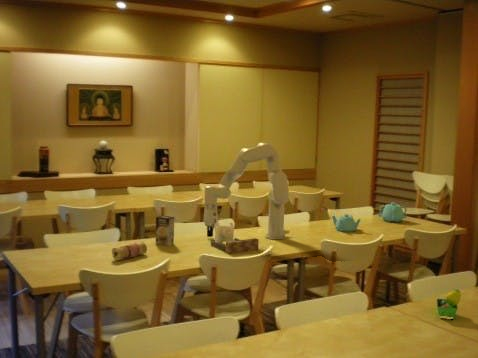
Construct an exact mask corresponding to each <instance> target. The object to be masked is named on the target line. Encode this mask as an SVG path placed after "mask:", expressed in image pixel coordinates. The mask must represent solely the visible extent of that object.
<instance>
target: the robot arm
mask: <svg viewBox="0 0 478 358" xmlns="http://www.w3.org/2000/svg"><path fill="white" fill-rule="evenodd" d="M262 160H265V162H266V167H267V179H268V182H269V183H270V184H271V185H272V187H271V188H270V189H269V191H268V221H267V222H268V223H267V224H268V225H267V233H266V234H265V238H266V239H268V240H284V239H286V237H287V236H286V235H288V234H290V233H291V232H290V230H285V229H284V227H285V225H284V224H285V204H286V203H288V201H289V198H290V191H289V190H290V189H289V181H288V176H287V175H286V173H285V172H284V171H283V170H282V164H281V158H280V155H279V152H278V151H277V149H275V147H274V146H273V145H272V144H270V143H267V142H259V143H258V144H257V145H256V147H255V146H254V147H251V148H248V147H243V148H241V149H240V151H239V152H238V154H237V156H236V157H235V159H234V161H233V162H232V164H231V165H230V167H229V168H228V170H227V171H225V174H224V175H223V176H222V178H221V179H220V181H219V182H218V184H217V186H216V185H207V186H205V187H204V210H203V224H204V225H205V226H206V230H207V231H206V232H207V233H206V237H207V238H211V237H213V236H214V231H215V224H216V223H219V216H218V215H219V213H218V199H221V200H222V199H223V200H226V199H229V198H230V197H231V194H232V191H231V187H232V185H233V184H234V182H235V181H236V180H237V179H240V178H241V177H242V176H243V174H244V172H245V171H246V170H247V167H248V166H249V164H253V163H257V162H260V161H262Z"/></svg>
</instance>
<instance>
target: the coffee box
mask: <svg viewBox="0 0 478 358" xmlns="http://www.w3.org/2000/svg"><path fill="white" fill-rule="evenodd" d="M174 241H175V216H171V215H163V214H161V215H158V216H155V242H154V243H155V245H159V246H166V247H170V246H172V245H175V244H174V243H175V242H174Z"/></svg>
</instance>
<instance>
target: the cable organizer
mask: <svg viewBox="0 0 478 358" xmlns="http://www.w3.org/2000/svg"><path fill="white" fill-rule="evenodd" d="M234 232H235V227H234V224H233V222H229V225H220V222H218V223H216V224H215V228H214V240H215V241H214V242H217V243H219V244H221V243H224V242H225V243H226V242H229V241H234V235H235V233H234Z"/></svg>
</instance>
